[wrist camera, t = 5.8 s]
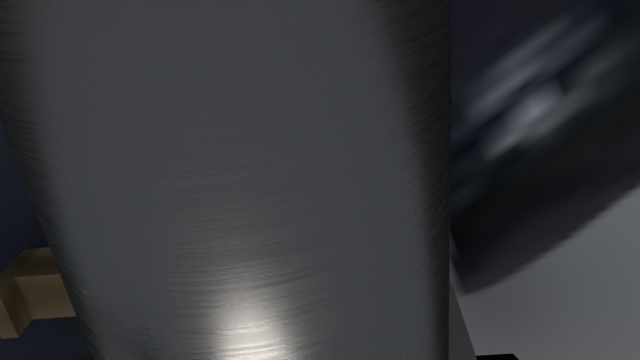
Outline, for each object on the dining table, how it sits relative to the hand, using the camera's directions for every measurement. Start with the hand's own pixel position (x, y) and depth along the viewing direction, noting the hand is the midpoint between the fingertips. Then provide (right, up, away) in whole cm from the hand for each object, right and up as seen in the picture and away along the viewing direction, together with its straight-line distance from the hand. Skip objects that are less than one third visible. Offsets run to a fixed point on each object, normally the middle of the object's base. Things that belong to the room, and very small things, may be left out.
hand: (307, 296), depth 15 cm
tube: (0, -1, -1) cm, 2 cm away
